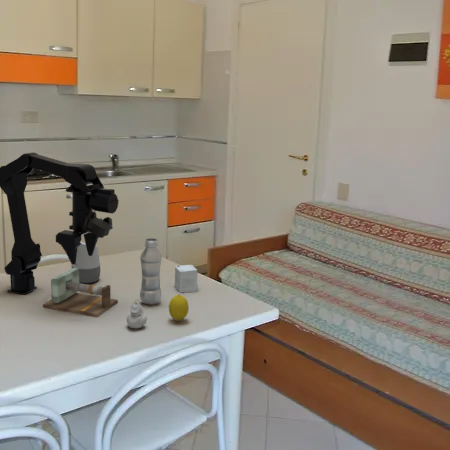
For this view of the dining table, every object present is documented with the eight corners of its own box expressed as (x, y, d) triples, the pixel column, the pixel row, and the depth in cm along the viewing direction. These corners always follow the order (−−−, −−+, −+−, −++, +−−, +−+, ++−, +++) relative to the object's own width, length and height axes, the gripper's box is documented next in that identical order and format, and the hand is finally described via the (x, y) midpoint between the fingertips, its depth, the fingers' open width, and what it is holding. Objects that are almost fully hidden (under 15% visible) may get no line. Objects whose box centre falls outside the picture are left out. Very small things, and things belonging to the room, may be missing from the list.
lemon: (180, 326, 156) (181, 299, 154) (164, 321, 159) (165, 295, 157) (192, 320, 161) (192, 293, 159) (176, 315, 163) (177, 289, 161)
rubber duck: (122, 329, 152) (122, 302, 150) (132, 320, 159) (132, 293, 157) (141, 332, 151) (141, 304, 149) (150, 323, 157) (150, 296, 156)
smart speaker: (106, 280, 190) (106, 240, 186) (86, 287, 182) (85, 246, 179) (86, 274, 195) (85, 235, 191) (65, 281, 187) (64, 240, 184)
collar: (52, 301, 164) (51, 278, 162) (73, 289, 174) (73, 267, 173) (58, 302, 163) (57, 279, 162) (79, 290, 174) (78, 268, 172)
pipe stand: (42, 307, 165) (42, 284, 163) (66, 293, 176) (65, 272, 174) (97, 317, 160) (96, 294, 158) (117, 302, 171) (117, 281, 169)
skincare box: (197, 291, 184) (198, 269, 182) (179, 293, 181) (180, 271, 180) (191, 285, 189) (192, 264, 187) (174, 286, 187) (174, 265, 185)
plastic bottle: (165, 301, 174) (166, 238, 169) (153, 308, 168) (154, 244, 163) (147, 297, 176) (148, 235, 171) (135, 304, 170) (135, 240, 165)
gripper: (90, 218, 152) (89, 273, 156) (122, 206, 169) (121, 255, 173) (54, 213, 155) (54, 267, 159) (90, 201, 172) (89, 250, 176)
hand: (82, 259), depth 167 cm, fingers open, 9 cm apart
